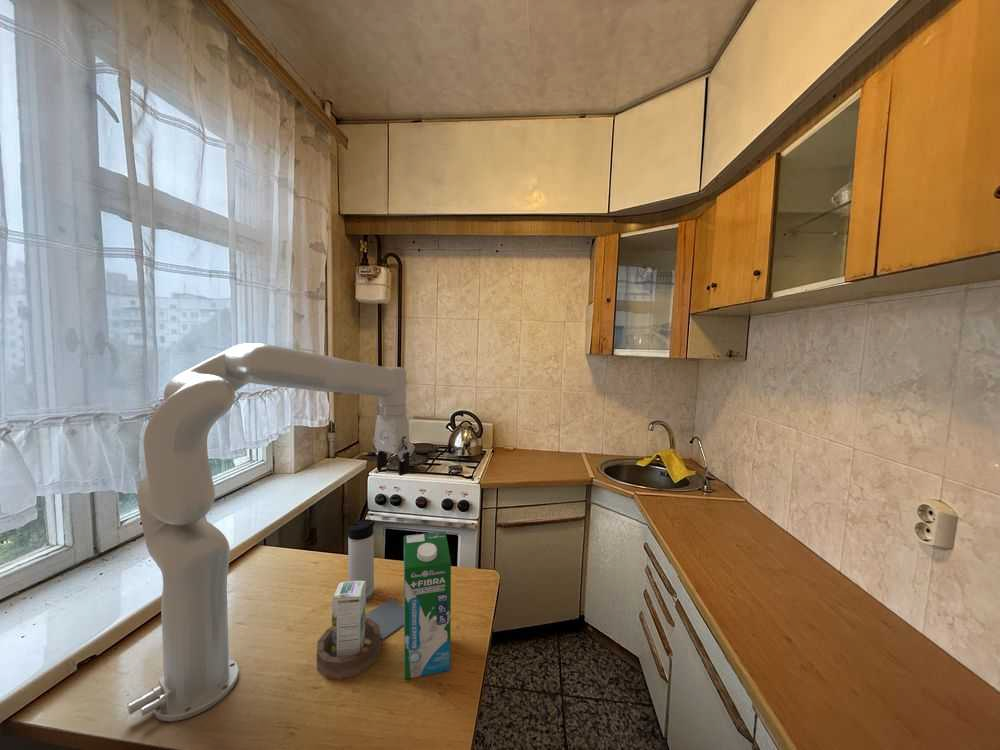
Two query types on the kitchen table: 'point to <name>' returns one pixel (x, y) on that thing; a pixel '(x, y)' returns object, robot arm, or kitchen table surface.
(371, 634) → the collar
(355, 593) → the syrup box
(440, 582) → the milk carton
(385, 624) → the mat
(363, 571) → the travel mug
